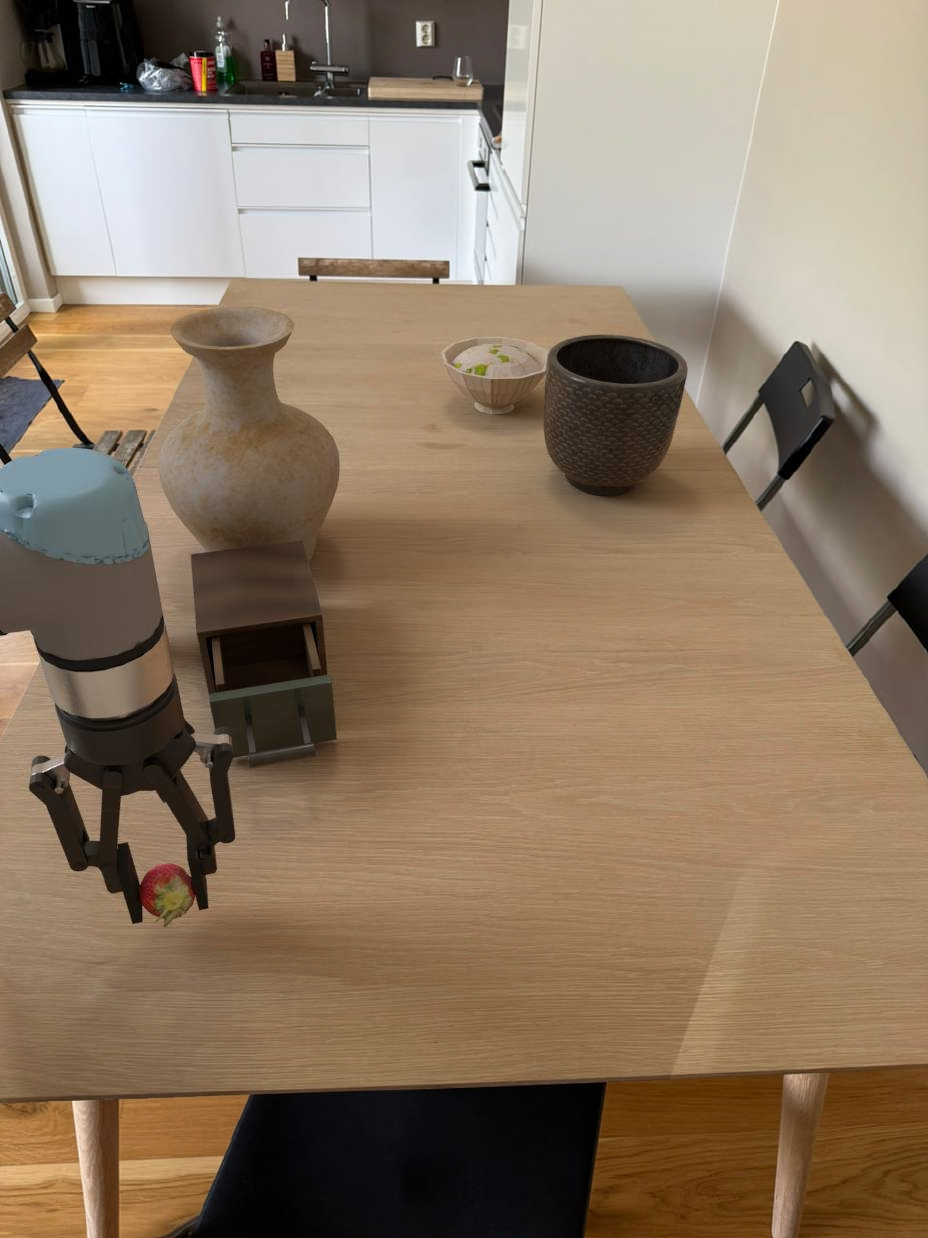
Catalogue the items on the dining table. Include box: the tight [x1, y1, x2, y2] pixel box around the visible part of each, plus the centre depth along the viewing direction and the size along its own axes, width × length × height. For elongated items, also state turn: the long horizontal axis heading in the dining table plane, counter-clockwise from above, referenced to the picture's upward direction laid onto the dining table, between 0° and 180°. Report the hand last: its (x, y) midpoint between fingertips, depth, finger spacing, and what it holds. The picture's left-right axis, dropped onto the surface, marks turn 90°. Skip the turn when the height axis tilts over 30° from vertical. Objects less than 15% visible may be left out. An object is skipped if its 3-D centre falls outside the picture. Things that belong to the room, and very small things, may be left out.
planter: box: [543, 333, 689, 497], centre depth 130 cm, size 20×20×19 cm
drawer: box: [208, 622, 338, 770], centre depth 89 cm, size 20×11×8 cm, turn 16°
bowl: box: [440, 336, 550, 415], centre depth 153 cm, size 19×19×10 cm
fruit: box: [138, 862, 196, 928], centre depth 70 cm, size 4×6×5 cm
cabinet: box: [190, 540, 329, 695], centre depth 99 cm, size 15×13×10 cm
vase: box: [157, 306, 341, 563], centre depth 109 cm, size 22×22×30 cm
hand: (170, 901), depth 71 cm, fingers closed on fruit, 4 cm apart
